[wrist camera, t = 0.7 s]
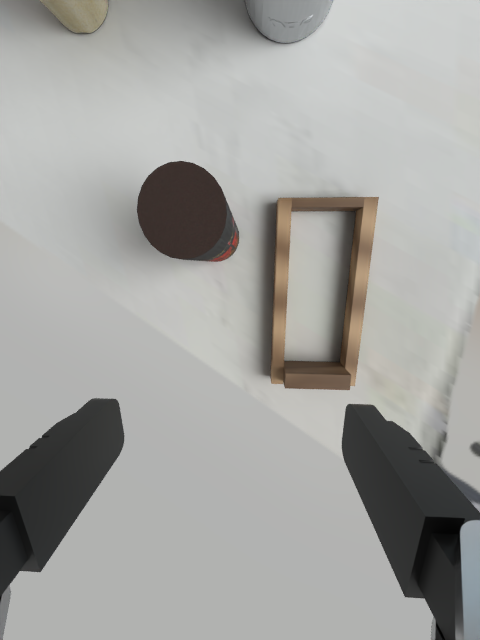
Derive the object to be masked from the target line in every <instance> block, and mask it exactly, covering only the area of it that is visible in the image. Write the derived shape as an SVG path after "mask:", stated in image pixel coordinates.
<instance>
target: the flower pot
mask: <svg viewBox="0 0 480 640" xmlns="http://www.w3.org/2000/svg"><path fill="white" fill-rule="evenodd" d="M40 1H41V2H42V3H43V4H44V5H45V6H46V7H47V8H48V9H49V10H50V11H51V12H52V14H53V15H54V16H55V17H56V18H57V19H58V20H59V21H60V22H61V23H62V24H63V25H64V26H65V27H66V28H68V29H69V30H71V31H72V32H74V33H79V32H84V33H92V32H94V31H95V30H97V29H98V28H99V27H100V26H101V24H102V23H103V21H104V19H105V17H106V14H107V10H108V0H40Z"/></svg>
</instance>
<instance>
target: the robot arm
mask: <svg viewBox="0 0 480 640" xmlns="http://www.w3.org/2000/svg"><path fill="white" fill-rule="evenodd" d="M245 2H246V7H247V10H248V13H249V16H250V18H251V20H252V22H253V23H254V25H255V26H256V28H257V29H258V30H259V31H260V32H261V33H262V34H263V35H265V36H266V37H268V38H269V39H271V40H274V41H277V42H283V43H290V42H296V41H299V40H301V39H303V38H306V37H307V36H308V35H310V34H311V33H313V32H314V31H315V30H316V29H317V28H318V27H319V26H320V24H321V23H322V22H323V20H324V19H325V17H326V16H327V14H328V12H329V10H330V7H331V5H332V2H333V0H245ZM123 443H124V431H123V425H122V419H121V413H120V407H119V403H118V401H117V400H116V399H97V398H95V399H91V400H90V401H88V402H87V403H86V404H85V405H84V406H83V407H82V408H81V409H79V410H78V411H77V412H76V413H74V414H72V415H70V416H68V417H67V418H65V419H63V420H61V421H60V422H58V423H56V424H55V425H54V426H53V427H52V428H51V429H49V430H48V431H47V432H46V433H45V434H44V435H42V438H39V439H38V440H37V441H35V442H34V443H33V444H32V445H31V446H30V448H29V449H26V450H25V451H24V452H23V453H21V454H20V455H19V456H18V457H16V458H15V459H14V460H13V461H12V462H11V463H9V464H8V465H7V466H6V467H5V468H4V469H3V470H1V471H0V640H3V634H4V629H5V623H6V618H7V613H8V607H9V602H10V595H11V590H10V586H9V585H10V583H11V582H12V581H13V579H14V578H15V577H16V575H17V574H18V572H19V571H31V572H41V571H42V569H43V567H44V566H45V565H46V563H47V561H48V560H49V559H50V557H51V556H52V554H53V553H54V551H55V550H56V548H57V547H58V545H59V544H60V542H61V541H62V539H63V538H64V536H65V535H66V533H67V532H68V530H69V529H70V527H71V526H72V524H73V523H74V521H75V520H76V519H77V517H78V515H79V514H80V513H81V511H82V510H83V508H84V507H85V505H86V503H87V502H88V501H89V499H90V498H91V496H92V495H93V493H94V492H95V490H96V489H97V487H98V486H99V484H100V483H101V481H102V480H103V478H104V477H105V475H106V474H107V472H108V471H109V469H110V468H111V466H112V465H113V463H114V462H115V460H116V459H117V458H118V456H119V454H120V452H121V450H122V447H123ZM342 452H343V457H344V461H345V463H346V466H347V468H348V470H349V472H350V475H351V477H352V479H353V481H354V483H355V486H356V488H357V490H358V492H359V495H360V497H361V499H362V502H363V504H364V506H365V508H366V511H367V513H368V515H369V517H370V519H371V522H372V524H373V526H374V528H375V531H376V533H377V535H378V538H379V540H380V542H381V544H382V546H383V549H384V551H385V553H386V555H387V558H388V560H389V562H390V564H391V567H392V569H393V571H394V573H395V576H396V578H397V580H398V582H399V584H400V587H401V589H402V591H403V594H404V596H405V597H413V598H425V600H426V602H427V604H428V606H429V608H430V610H431V612H432V614H433V616H434V617H433V620H432V626H431V640H480V513H479V511H478V510H477V509H476V508H475V507H474V506H473V505H472V503H471V502H470V501H469V500H468V499H467V498H466V497H465V496H464V494H463V493H462V492H461V491H460V490H459V489H458V488H457V486H456V485H455V484H454V483H453V482H452V481H451V480H450V479H449V477H448V476H447V475H446V474H445V473H444V472H443V471H442V469H441V468H440V467H439V466H438V465H437V464H434V462H433V459H432V458H431V457H430V456H429V455H428V454H427V452H426V451H423V449H422V447H421V446H420V445H419V443H418V442H417V441H416V440H415V439H414V438H413V437H412V435H411V434H410V433H409V432H407V431H406V430H404V429H403V428H401V427H400V426H398V425H397V424H396V423H394V422H393V421H386V420H385V418H384V417H383V416H382V415H381V413H380V412H379V411H378V410H377V408H376V407H375V406H374V405H364V404H348V405H347V407H346V411H345V420H344V428H343V437H342Z"/></svg>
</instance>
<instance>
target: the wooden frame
mask: <svg viewBox="0 0 480 640" xmlns="http://www.w3.org/2000/svg"><path fill="white" fill-rule="evenodd" d="M378 198H379V197H334V198H278V201H277V210H276V238H275V266H274V294H273V322H272V349H271V383H272V384H283V383H284V386H285V388H296V389H331V390H350V386H355V380H356V372H357V364H358V356H359V348H360V341H361V333H362V325H363V317H364V309H365V301H366V293H367V285H368V277H369V269H370V261H371V253H372V245H373V237H374V229H375V222H376V214H377V206H378ZM291 211H356V216H355V225H354V234H353V244H352V253H351V262H350V271H349V281H348V290H347V299H346V309H345V318H344V327H343V337H342V346H341V355H340V362H311V361H284V349H285V329H286V309H287V289H288V268H289V248H290V228H291Z"/></svg>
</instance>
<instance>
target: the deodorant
mask: <svg viewBox="0 0 480 640" xmlns="http://www.w3.org/2000/svg"><path fill="white" fill-rule="evenodd" d="M137 213H138V219H139V224H140V226H141V228H142V231H143V233H144V235H145V237H146V238H147V239H148V241H149V242H150V243H151V245H152V246H154V247H155V248H156V249H157V250H158V251H160V252H161V253H163V254H165V255H167V256H169V257H171V258H177V259H183V260H199V261H214V262H216V261H223V260H225V259H227V258H229V257H230V256H231V255H232V254H233V253H234V252H235V251H236V249H237V246H238V243H239V231H238V228H237V226H236V223H235V221H234V218H233V216H232V213H231V211H230V208H229V206H228V203H227V201H226V198H225V196H224V194H223V191H222V189H221V187H220V186H219V184H218V183H217V181H216V180H215V178H214V177H213V176H212V175H211V174H210V173H209V172H208V171H206V170H205V169H204V168H202V167H200V166H198V165H196V164H194V163H190V162H184V161H177V162H169V163H167V164H164V165H162V166H160V167H158V168H157V169H156V170H154V171H153V172H152V173H151V174H150V175H149V176H148V177H147V179H146V180H145V182H144V184H143V185H142V187H141V190H140V193H139V197H138V206H137Z"/></svg>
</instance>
